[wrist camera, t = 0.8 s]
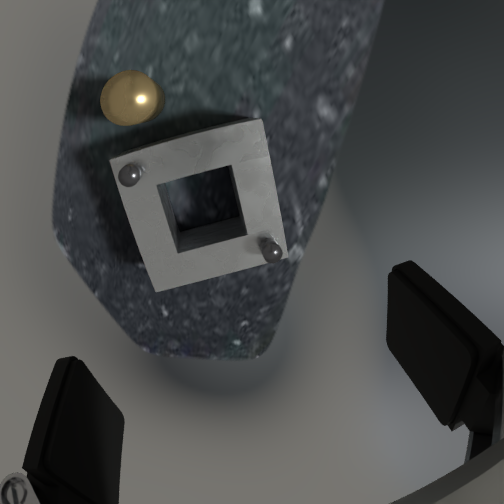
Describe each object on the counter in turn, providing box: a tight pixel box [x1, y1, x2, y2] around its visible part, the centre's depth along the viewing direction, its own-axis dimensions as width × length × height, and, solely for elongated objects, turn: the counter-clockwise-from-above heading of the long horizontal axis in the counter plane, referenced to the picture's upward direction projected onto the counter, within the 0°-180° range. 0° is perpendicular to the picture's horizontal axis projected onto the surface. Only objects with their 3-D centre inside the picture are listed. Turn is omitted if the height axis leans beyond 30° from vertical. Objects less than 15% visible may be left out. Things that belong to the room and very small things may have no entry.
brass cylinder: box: [100, 70, 165, 126], centre depth 22 cm, size 4×4×7 cm
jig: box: [110, 118, 288, 292], centre depth 27 cm, size 12×12×7 cm
